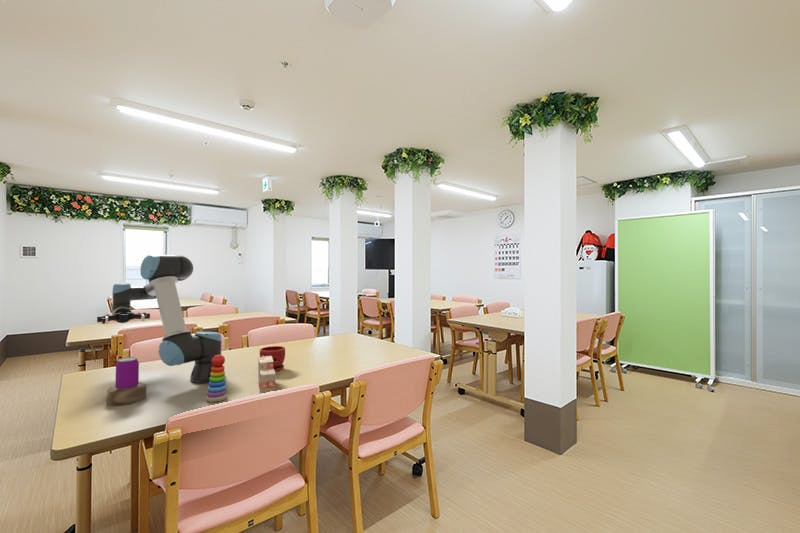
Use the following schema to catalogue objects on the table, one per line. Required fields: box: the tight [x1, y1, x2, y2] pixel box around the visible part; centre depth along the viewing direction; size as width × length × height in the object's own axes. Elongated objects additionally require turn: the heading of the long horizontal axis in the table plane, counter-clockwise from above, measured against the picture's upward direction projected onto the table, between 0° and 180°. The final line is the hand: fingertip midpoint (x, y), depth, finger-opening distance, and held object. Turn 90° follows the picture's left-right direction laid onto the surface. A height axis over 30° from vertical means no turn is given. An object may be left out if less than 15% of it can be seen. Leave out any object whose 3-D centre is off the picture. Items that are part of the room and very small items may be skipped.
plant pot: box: [259, 345, 286, 373], centre depth 193 cm, size 13×13×12 cm
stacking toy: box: [205, 354, 228, 403], centre depth 151 cm, size 8×8×19 cm
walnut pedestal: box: [106, 382, 147, 407], centre depth 149 cm, size 13×13×5 cm
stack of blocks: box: [257, 356, 277, 395], centre depth 166 cm, size 21×6×12 cm, turn 24°
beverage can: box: [115, 356, 140, 390], centre depth 149 cm, size 8×8×12 cm
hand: (125, 319), depth 166 cm, fingers open, 13 cm apart
